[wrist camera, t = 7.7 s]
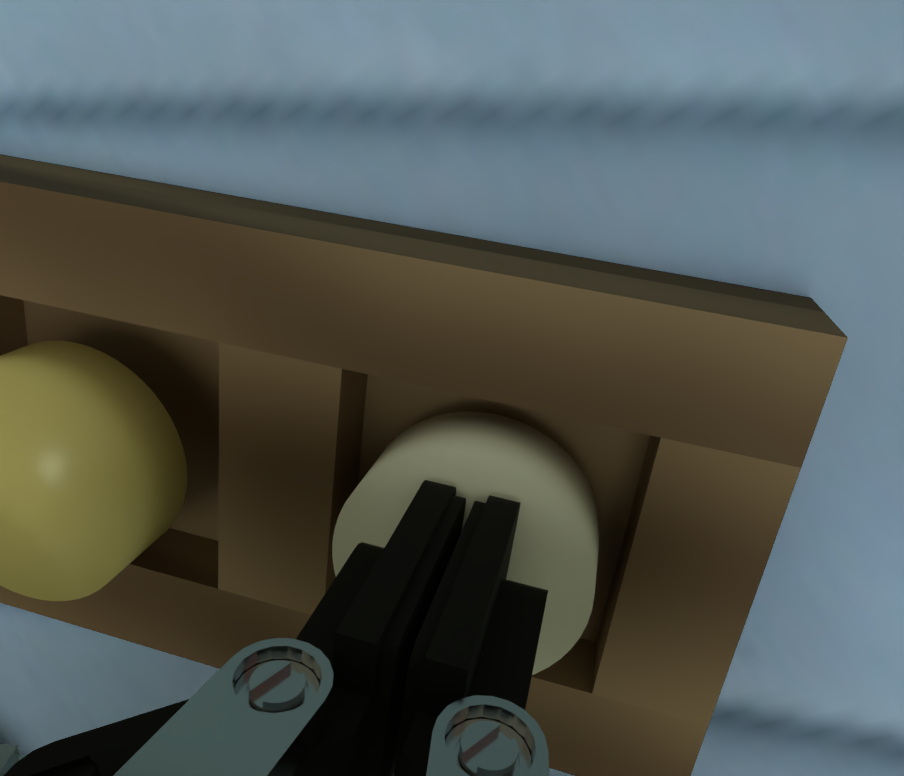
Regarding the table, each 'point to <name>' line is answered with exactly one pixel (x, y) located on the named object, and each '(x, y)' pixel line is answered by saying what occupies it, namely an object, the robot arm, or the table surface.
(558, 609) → the cream button
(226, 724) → the robot arm
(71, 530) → the mustard button
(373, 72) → the table surface
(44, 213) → the button panel
